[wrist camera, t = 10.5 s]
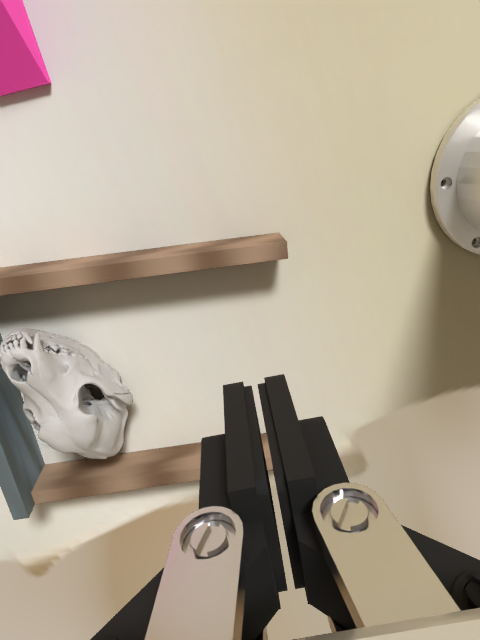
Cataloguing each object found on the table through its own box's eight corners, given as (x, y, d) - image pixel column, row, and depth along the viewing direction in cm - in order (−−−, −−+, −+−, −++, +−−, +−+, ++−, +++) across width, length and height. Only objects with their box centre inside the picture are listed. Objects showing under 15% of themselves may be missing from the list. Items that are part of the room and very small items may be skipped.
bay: (278, 232, 34) (290, 246, 30) (294, 439, 41) (306, 476, 37) (-38, 272, 33) (-76, 293, 29) (35, 477, 41) (13, 520, 36)
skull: (74, 475, 38) (-42, 464, 27) (65, 378, 42) (-41, 336, 31) (158, 446, 37) (72, 424, 26) (140, 350, 41) (59, 296, 30)
